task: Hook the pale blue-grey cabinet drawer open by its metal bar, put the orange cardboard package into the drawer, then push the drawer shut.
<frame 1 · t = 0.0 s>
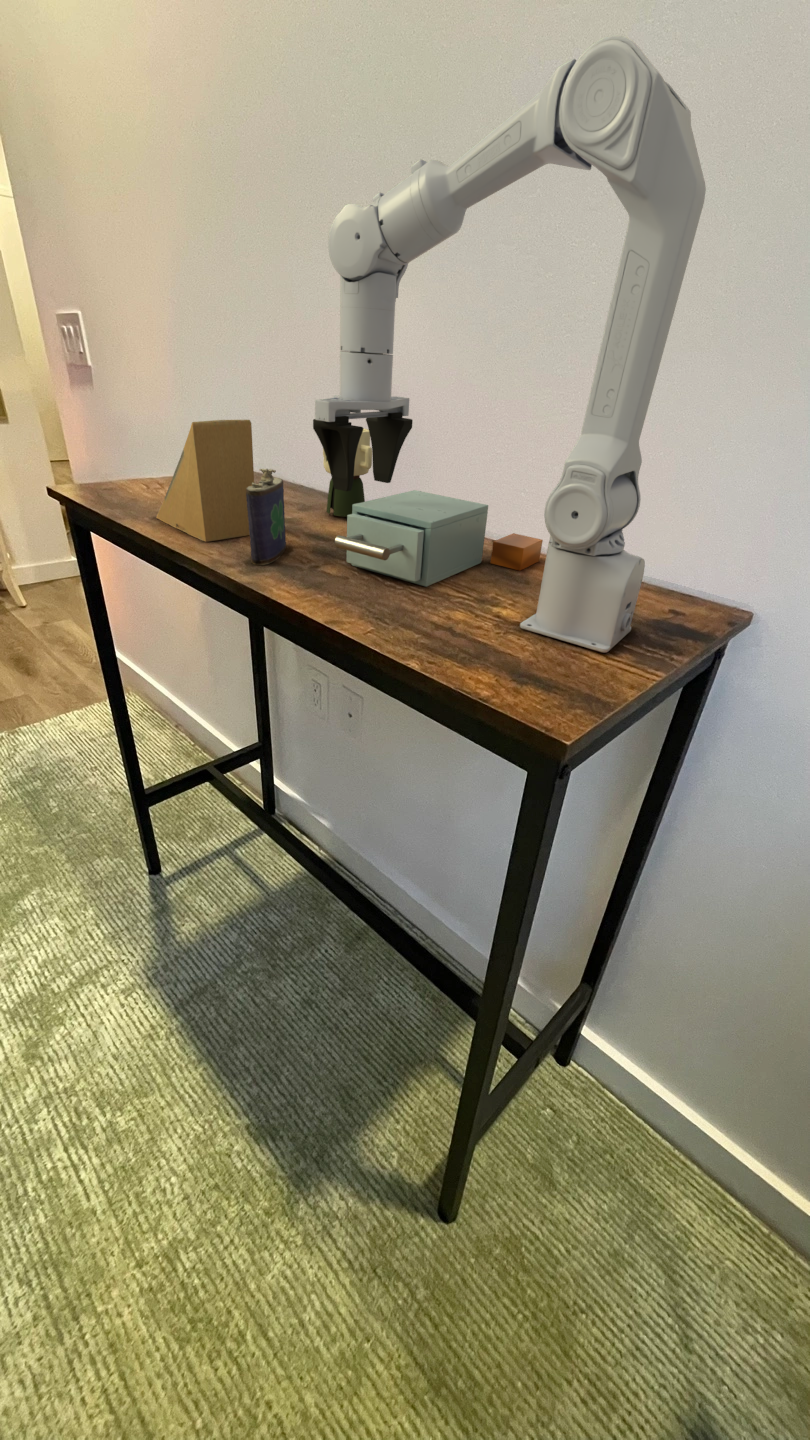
hand: (363, 485, 75), 10 cm above the table, tool pointing down, fingers open, 7 cm apart
flask: (270, 556, 83), on the table
package: (515, 562, 87), on the table
sandwich container: (205, 527, 93), on the table
cabinet: (418, 564, 83), on the table
drawer: (400, 541, 78), point 4 cm above the table, slide at 0.5 cm
character mug: (345, 517, 103), on the table
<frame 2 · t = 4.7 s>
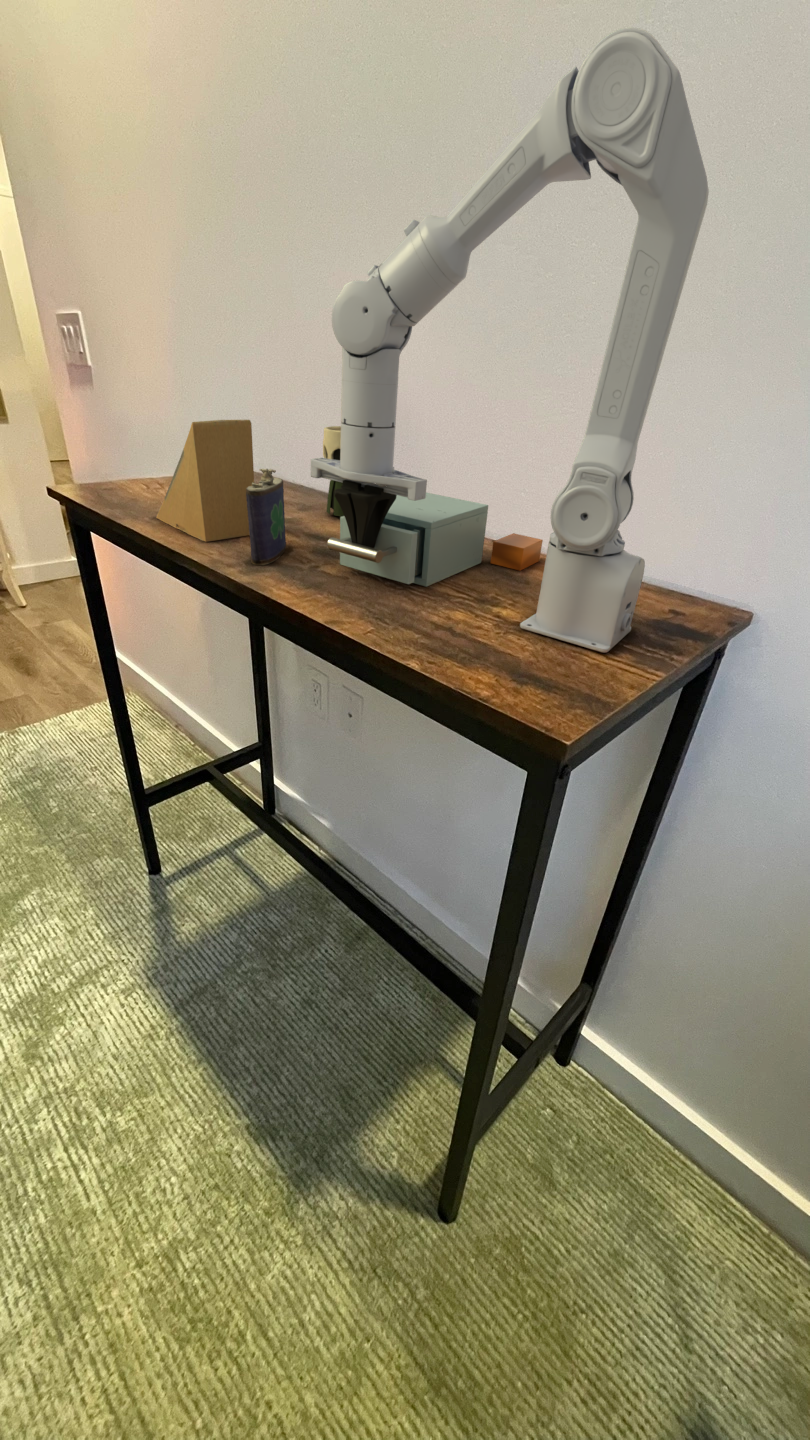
hand: (363, 553, 73), 4 cm above the table, tool pointing down, fingers closed, pressing on drawer
drawer: (394, 543, 77), point 4 cm above the table, slide at 1.8 cm, touching gripper
everything else where it was.
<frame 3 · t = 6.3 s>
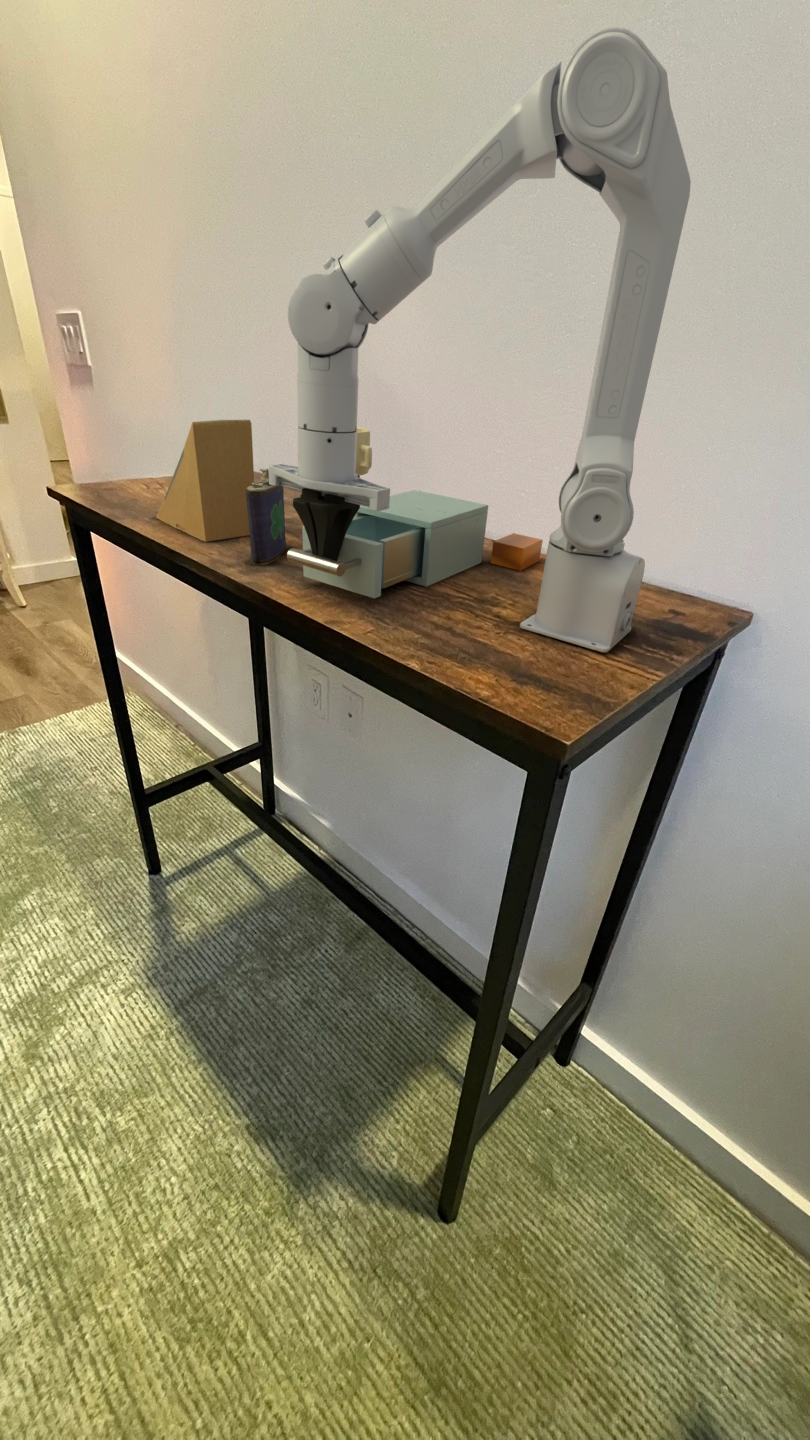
hand: (325, 565, 68), 4 cm above the table, tool pointing down, fingers closed, pressing on drawer
drawer: (360, 554, 72), point 4 cm above the table, slide at 8.3 cm, touching gripper
everything else where it was.
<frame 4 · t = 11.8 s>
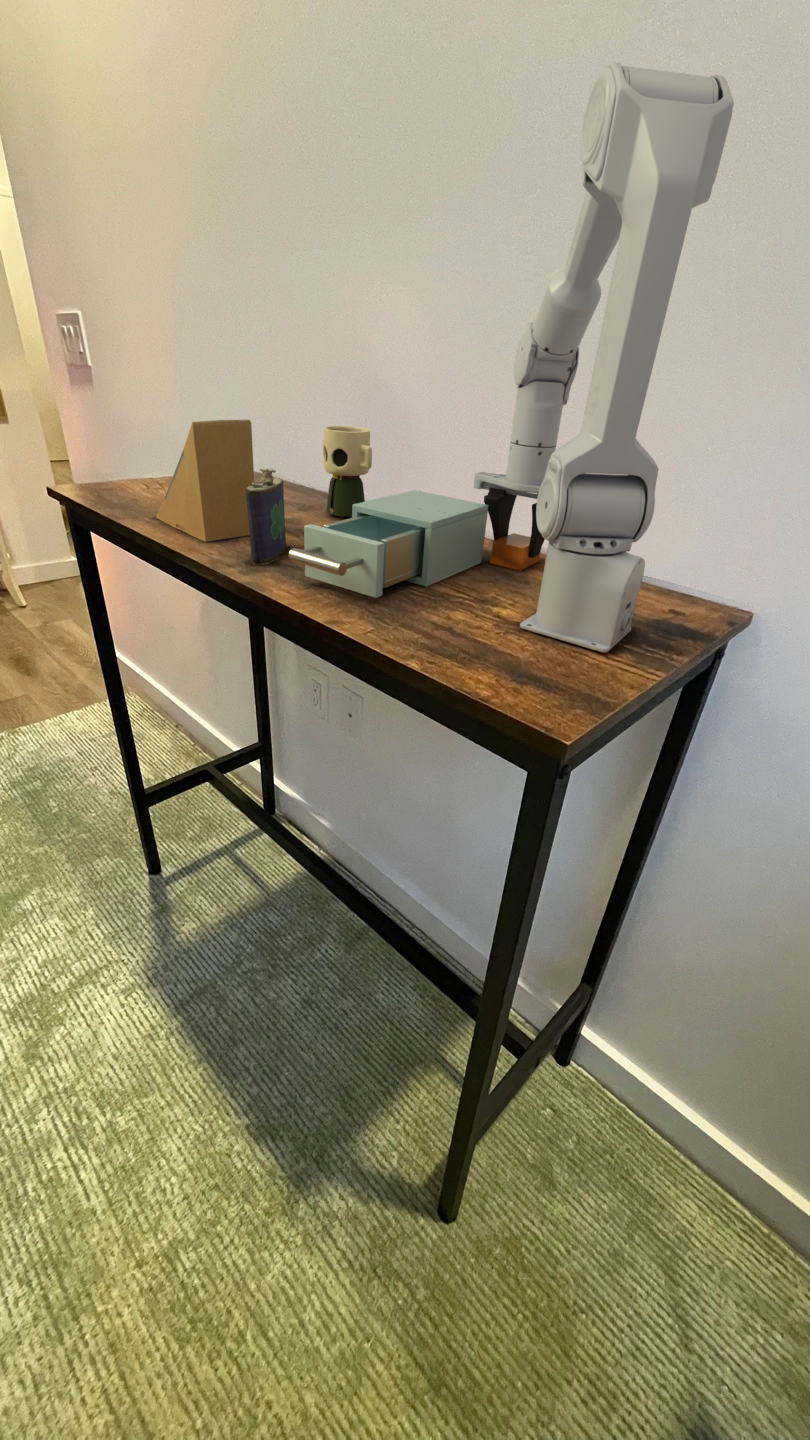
hand: (516, 552, 86), 1 cm above the table, tool pointing down, fingers closed on package, 4 cm apart
package: (514, 562, 87), on the table, touching gripper
drawer: (362, 553, 73), point 4 cm above the table, slide at 8.1 cm
everything else where it was.
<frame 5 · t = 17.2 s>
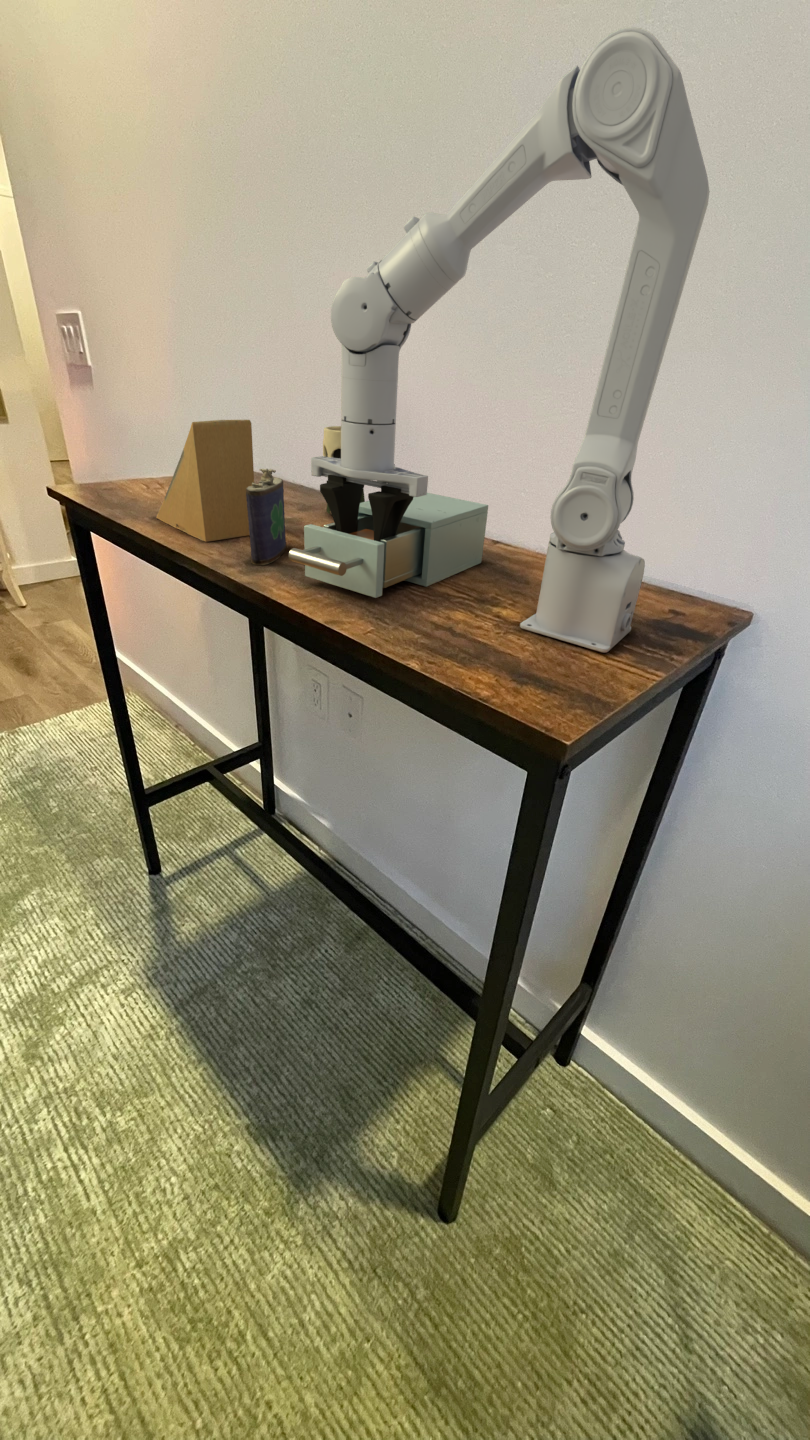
hand: (365, 551, 73), 4 cm above the table, tool pointing down, fingers closed on package, 4 cm apart
package: (364, 562, 74), point 3 cm above the table, touching gripper
everything else where it was.
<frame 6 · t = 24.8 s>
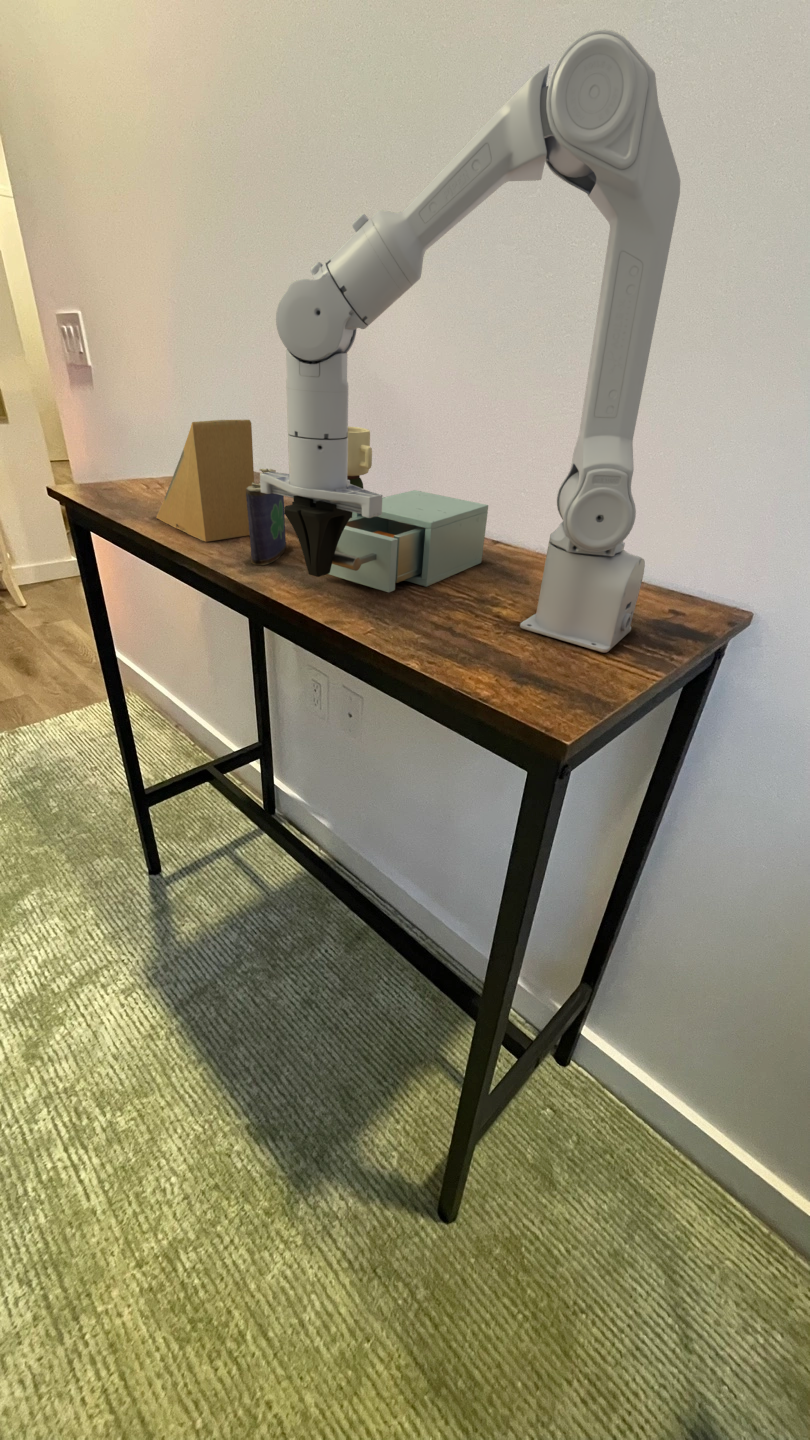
hand: (319, 573, 68), 3 cm above the table, tool pointing down, fingers closed, pressing on drawer
package: (377, 563, 76), point 2 cm above the table, touching drawer
drawer: (375, 549, 74), point 4 cm above the table, slide at 5.7 cm, touching gripper, package
everything else where it was.
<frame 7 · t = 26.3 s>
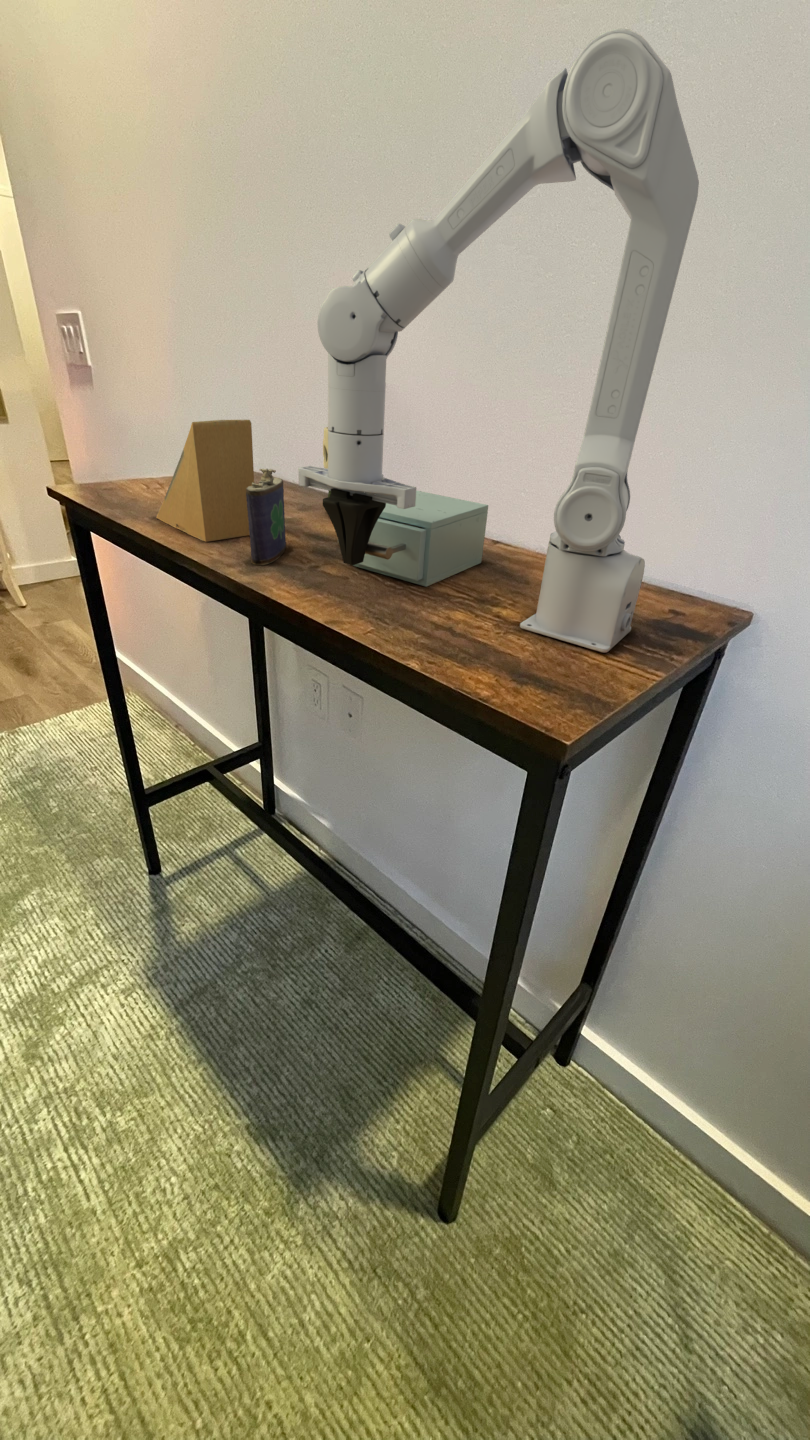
hand: (353, 562, 72), 3 cm above the table, tool pointing down, fingers closed, pressing on drawer
package: (404, 554, 80), point 2 cm above the table, touching drawer
drawer: (402, 540, 78), point 4 cm above the table, slide at 0.0 cm, touching cabinet, gripper, package
everything else where it was.
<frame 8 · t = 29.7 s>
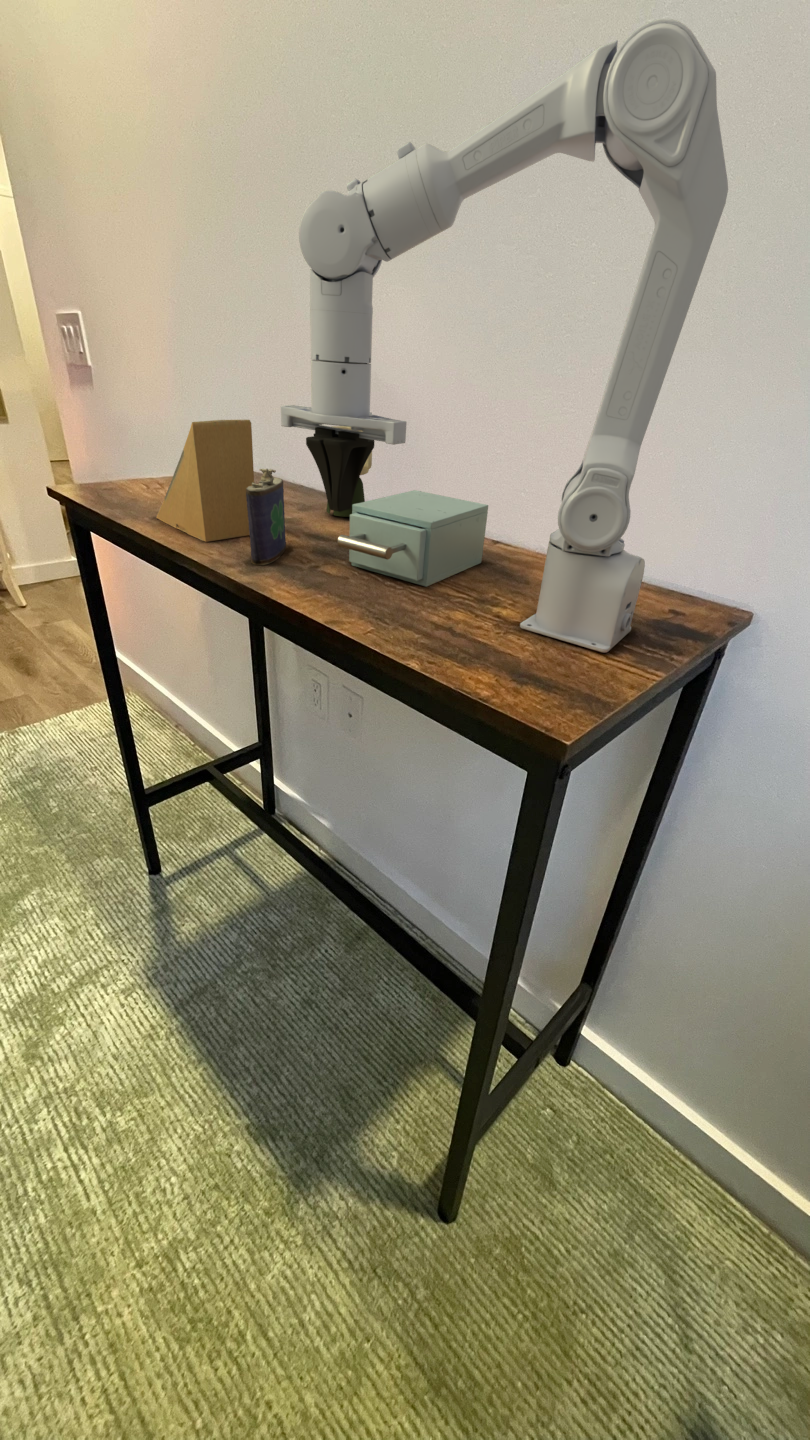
hand: (340, 509, 67), 9 cm above the table, tool pointing down, fingers closed
drawer: (402, 540, 78), point 4 cm above the table, slide at 0.0 cm, touching package
everything else where it was.
at the end: drawer pulled out 8.3 cm at the most during the clip, back to where it started at the end; package inside the target area in the cabinet (3.4 cm from its centre), point 2.0 cm above the cabinet's base; drawer slide at 0.0 cm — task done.
